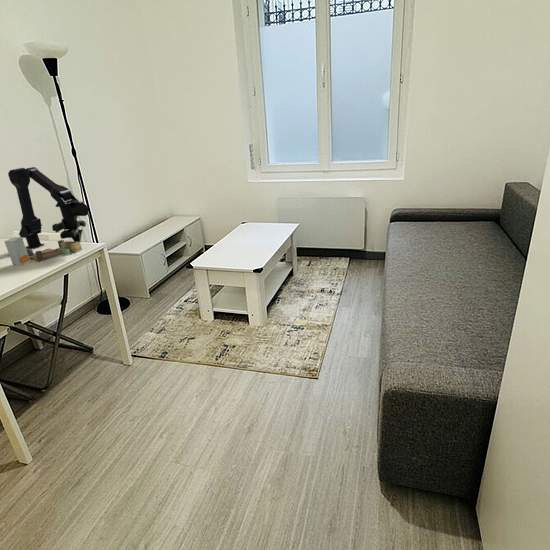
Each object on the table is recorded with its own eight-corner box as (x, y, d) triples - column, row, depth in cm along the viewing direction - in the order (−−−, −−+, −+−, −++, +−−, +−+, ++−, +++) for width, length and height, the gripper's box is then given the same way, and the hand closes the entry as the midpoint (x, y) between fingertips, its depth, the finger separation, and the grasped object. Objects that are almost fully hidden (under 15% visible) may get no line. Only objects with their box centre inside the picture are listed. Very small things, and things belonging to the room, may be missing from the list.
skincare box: (20, 266, 175) (11, 241, 170) (12, 266, 176) (3, 241, 171) (30, 261, 181) (22, 236, 176) (23, 261, 182) (14, 236, 177)
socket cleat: (59, 253, 188) (57, 248, 187) (62, 252, 190) (60, 247, 189) (67, 255, 185) (65, 250, 184) (70, 253, 186) (69, 249, 185)
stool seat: (27, 259, 184) (24, 250, 182) (54, 249, 194) (51, 241, 192) (39, 262, 178) (36, 253, 177) (66, 252, 189) (64, 243, 187)
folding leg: (58, 250, 192) (55, 242, 190) (64, 248, 195) (61, 239, 193) (76, 252, 188) (74, 243, 186) (82, 249, 191) (79, 240, 189)
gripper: (58, 211, 194) (68, 240, 201) (43, 223, 177) (54, 254, 184) (81, 209, 195) (90, 238, 201) (68, 220, 178) (78, 251, 185)
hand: (78, 245), depth 193 cm, fingers closed
